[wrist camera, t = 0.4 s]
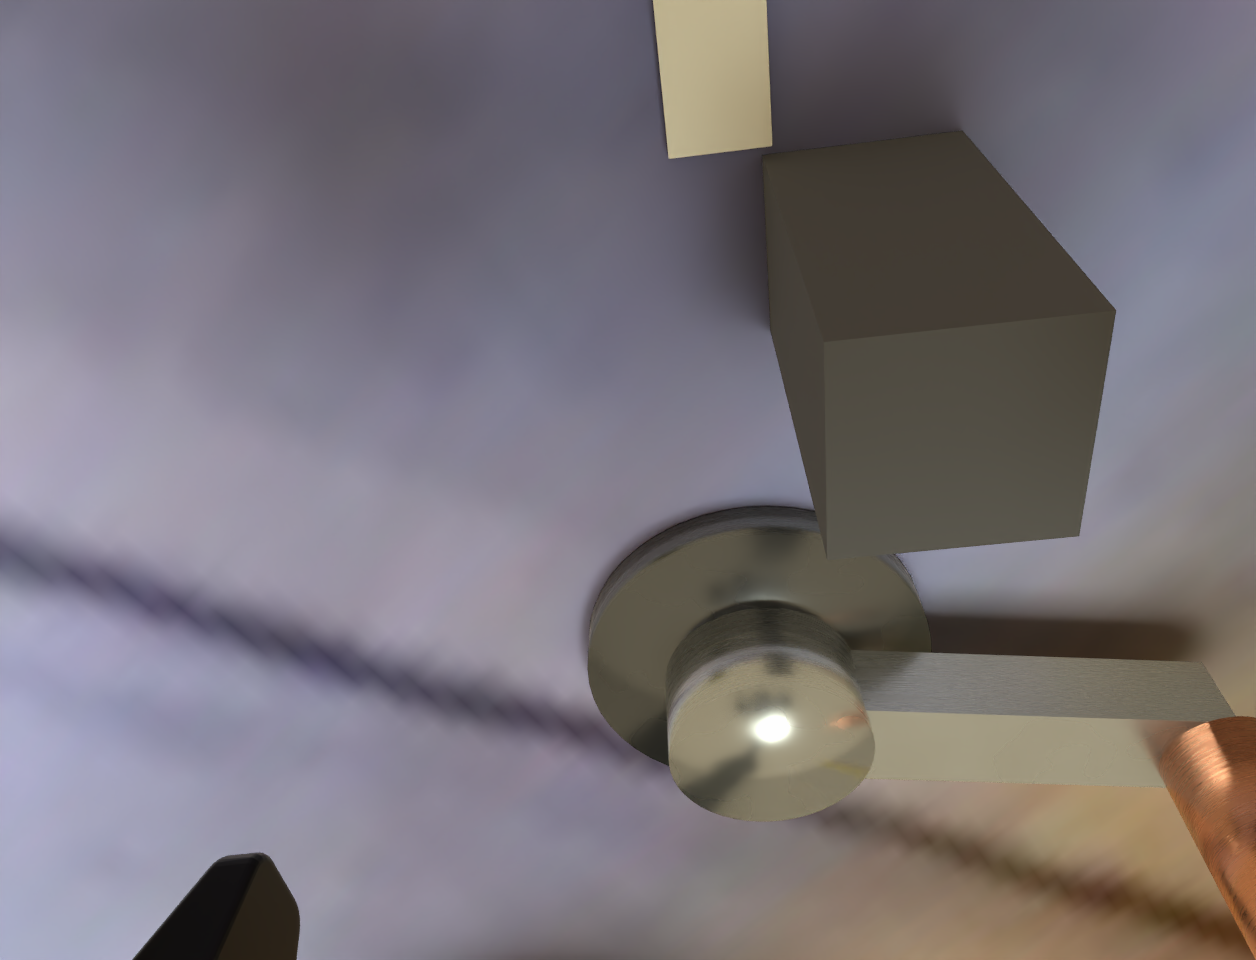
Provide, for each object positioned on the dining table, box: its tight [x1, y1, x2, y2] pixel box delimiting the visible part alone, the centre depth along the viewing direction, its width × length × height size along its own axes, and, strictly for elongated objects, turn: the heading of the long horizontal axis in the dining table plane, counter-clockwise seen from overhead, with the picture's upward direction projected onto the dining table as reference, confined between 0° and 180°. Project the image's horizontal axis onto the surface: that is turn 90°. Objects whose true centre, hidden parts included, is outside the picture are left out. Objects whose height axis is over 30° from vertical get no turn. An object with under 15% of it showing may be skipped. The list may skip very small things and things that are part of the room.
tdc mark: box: [653, 0, 772, 159], centre depth 17 cm, size 3×2×1 cm, turn 7°
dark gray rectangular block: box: [762, 131, 1116, 560], centre depth 17 cm, size 4×4×7 cm
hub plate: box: [588, 507, 931, 766], centre depth 25 cm, size 8×8×1 cm
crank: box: [665, 608, 1256, 959], centre depth 22 cm, size 14×4×7 cm, turn 87°
